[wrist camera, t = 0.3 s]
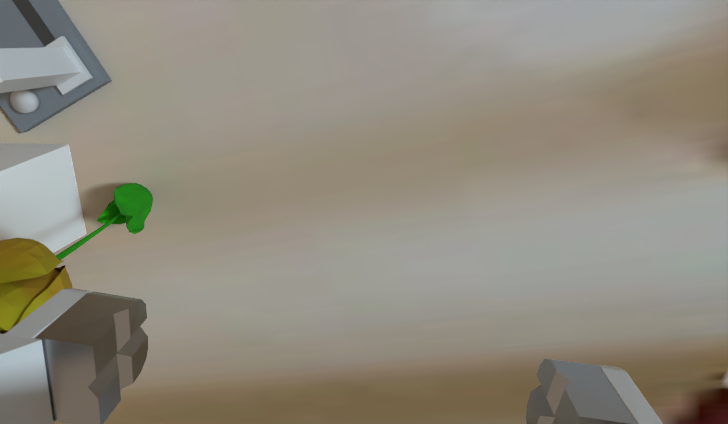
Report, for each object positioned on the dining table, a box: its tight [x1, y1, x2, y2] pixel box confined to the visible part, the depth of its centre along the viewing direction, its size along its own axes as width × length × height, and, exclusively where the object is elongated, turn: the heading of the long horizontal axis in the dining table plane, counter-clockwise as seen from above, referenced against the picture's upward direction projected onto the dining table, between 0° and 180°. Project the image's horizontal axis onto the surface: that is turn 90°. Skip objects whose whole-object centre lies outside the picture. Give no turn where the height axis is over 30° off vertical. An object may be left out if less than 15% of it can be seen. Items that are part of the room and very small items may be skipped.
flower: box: [0, 183, 153, 334], centre depth 45 cm, size 9×8×30 cm
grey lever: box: [0, 36, 93, 95], centre depth 46 cm, size 5×4×14 cm
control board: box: [0, 0, 112, 133], centre depth 52 cm, size 20×13×2 cm, turn 27°
